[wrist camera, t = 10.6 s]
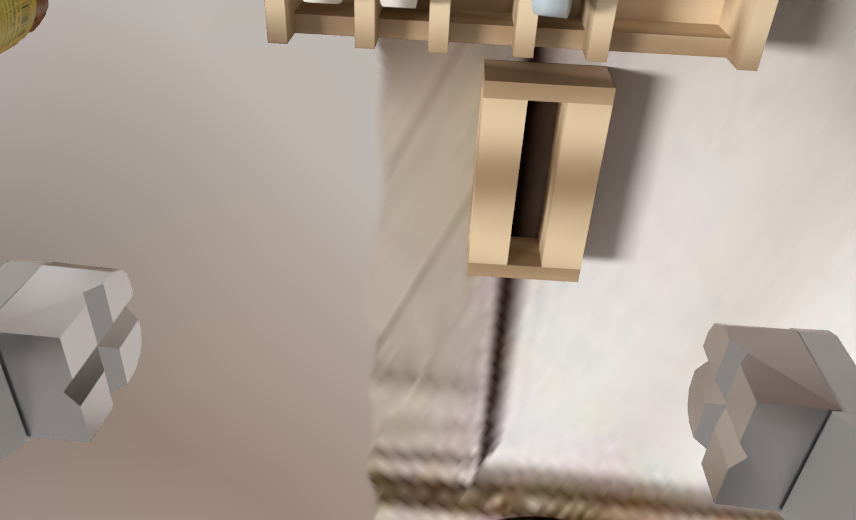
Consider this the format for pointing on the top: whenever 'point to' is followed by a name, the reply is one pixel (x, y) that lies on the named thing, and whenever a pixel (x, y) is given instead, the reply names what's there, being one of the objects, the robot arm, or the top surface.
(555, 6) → the blue plate
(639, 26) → the dish rack
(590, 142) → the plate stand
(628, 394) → the top surface
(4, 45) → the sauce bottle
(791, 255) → the top surface
